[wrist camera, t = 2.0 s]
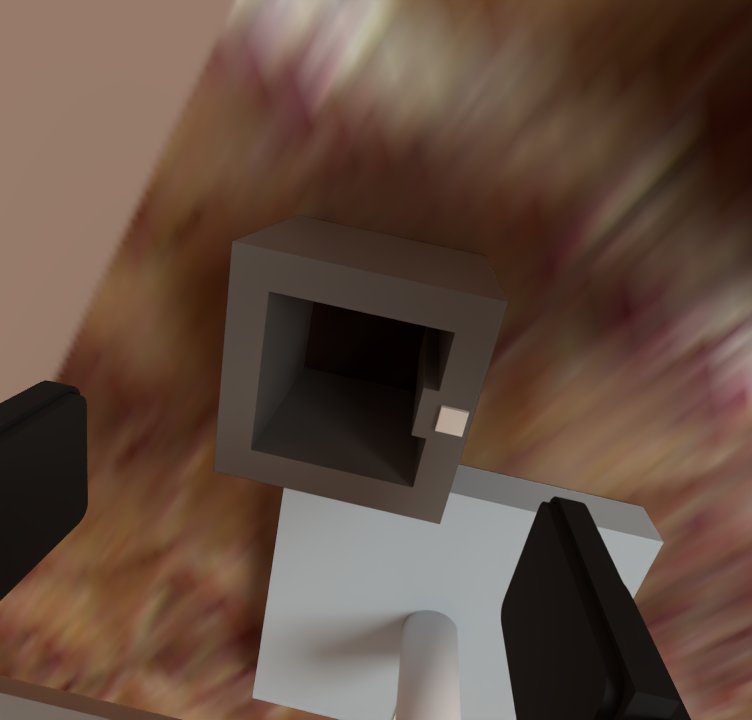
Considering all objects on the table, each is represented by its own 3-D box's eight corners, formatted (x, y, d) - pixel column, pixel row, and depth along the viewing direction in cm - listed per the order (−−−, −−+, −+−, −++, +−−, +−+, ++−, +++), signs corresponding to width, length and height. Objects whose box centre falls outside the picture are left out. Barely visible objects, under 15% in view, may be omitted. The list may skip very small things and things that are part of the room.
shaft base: (302, 428, 20) (217, 595, 13) (642, 506, 20) (774, 730, 12) (265, 659, 26) (191, 876, 18) (533, 725, 25) (576, 978, 18)
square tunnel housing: (298, 215, 17) (230, 242, 12) (485, 255, 17) (509, 303, 11) (276, 384, 20) (211, 473, 14) (439, 421, 20) (439, 527, 14)
